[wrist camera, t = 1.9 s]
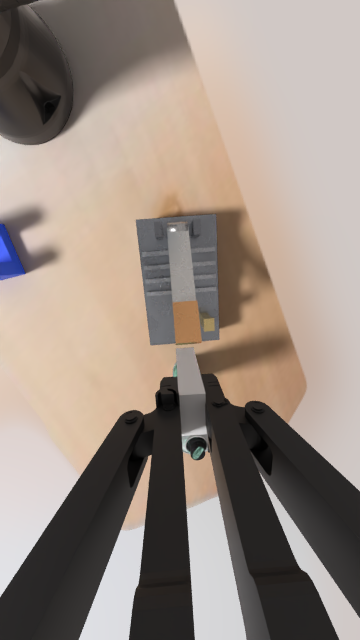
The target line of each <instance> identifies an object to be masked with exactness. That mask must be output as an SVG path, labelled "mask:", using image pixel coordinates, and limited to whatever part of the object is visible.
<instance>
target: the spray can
mask: <svg viewBox="0 0 360 640" xmlns="http://www.w3.org/2000/svg"><path fill="white" fill-rule="evenodd" d="M198 367H199V366H198ZM199 370H200V369H199ZM200 374H201V372H200ZM173 377H177V362H176V363H175V365H174V367H173ZM206 430H207V429H206ZM182 448H183V452H185V453H187V454H191V457H192V458H193V459H194V460H200V459H202V458H204V456H205V452H206V451H208V433H207V434H202V435H189V436H182Z"/></svg>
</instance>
